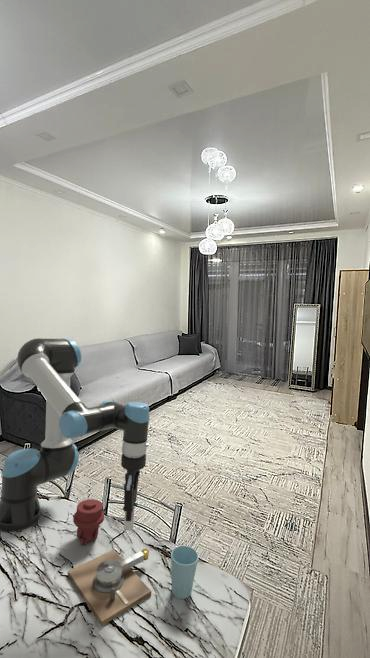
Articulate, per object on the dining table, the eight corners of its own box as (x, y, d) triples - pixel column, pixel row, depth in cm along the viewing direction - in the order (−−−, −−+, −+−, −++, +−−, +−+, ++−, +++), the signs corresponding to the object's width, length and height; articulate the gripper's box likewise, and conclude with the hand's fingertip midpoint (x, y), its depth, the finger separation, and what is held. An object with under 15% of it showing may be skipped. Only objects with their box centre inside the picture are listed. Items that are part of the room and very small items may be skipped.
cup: (187, 607, 87) (191, 569, 87) (162, 594, 91) (166, 557, 90) (199, 588, 94) (202, 552, 94) (175, 576, 97) (178, 542, 97)
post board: (67, 574, 94) (68, 561, 94) (113, 553, 105) (114, 540, 104) (101, 626, 80) (103, 610, 80) (151, 595, 90) (152, 580, 90)
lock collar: (91, 575, 92) (92, 564, 92) (140, 551, 104) (141, 541, 104) (103, 592, 87) (104, 580, 87) (154, 564, 99) (155, 554, 99)
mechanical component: (107, 532, 114) (93, 552, 104) (81, 526, 116) (65, 545, 106) (110, 498, 114) (97, 514, 104) (84, 492, 116) (68, 507, 106)
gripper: (142, 463, 95) (136, 543, 95) (149, 446, 108) (143, 517, 108) (117, 460, 95) (111, 541, 95) (126, 444, 108) (121, 515, 108)
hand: (128, 528), depth 102 cm, fingers closed
